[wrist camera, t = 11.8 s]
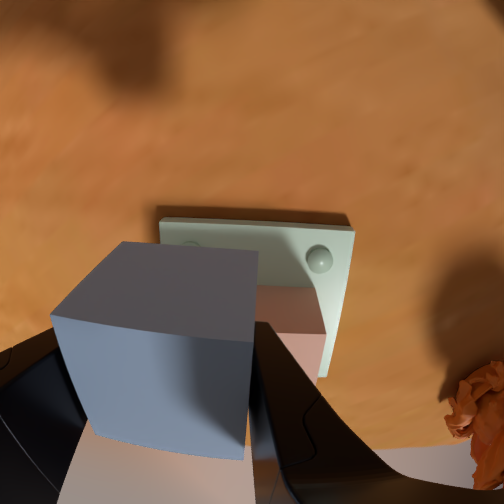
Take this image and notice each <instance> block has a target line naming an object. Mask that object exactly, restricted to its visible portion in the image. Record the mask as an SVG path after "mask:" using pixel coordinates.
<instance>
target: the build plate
mask: <svg viewBox="0 0 504 504" xmlns="http://www.w3.org/2000/svg"><path fill="white" fill-rule="evenodd" d="M159 230H160V244H168V245H182V246H197V247H211V248H225V249H239V250H253V251H259V256H258V273H257V285H266V286H286V287H308V288H315V289H316V293H317V297H318V301H319V305H320V309H321V313H322V317H323V321H324V325H325V329H326V333H327V336H326V341H325V345H324V350H323V355H322V359H321V364H320V368H319V373H318V377H326V376H327V372H328V368H329V364H330V360H331V356H332V352H333V347H334V343H335V338H336V334H337V329H338V325H339V320H340V315H341V310H342V305H343V300H344V295H345V290H346V284H347V279H348V273H349V268H350V262H351V256H352V249H353V243H354V236H355V231H354V229H353V228H352V227H351V226H339V225H323V224H307V223H290V222H272V221H252V220H231V219H206V218H178V217H163V218H162V219H161V220H160V221H159Z"/></svg>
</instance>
